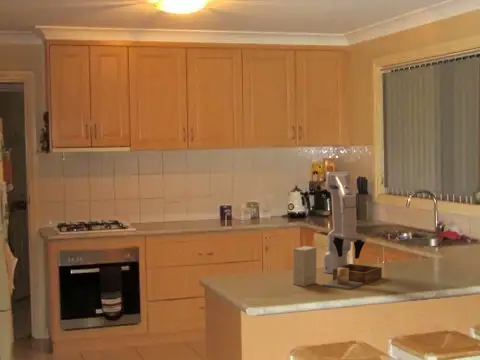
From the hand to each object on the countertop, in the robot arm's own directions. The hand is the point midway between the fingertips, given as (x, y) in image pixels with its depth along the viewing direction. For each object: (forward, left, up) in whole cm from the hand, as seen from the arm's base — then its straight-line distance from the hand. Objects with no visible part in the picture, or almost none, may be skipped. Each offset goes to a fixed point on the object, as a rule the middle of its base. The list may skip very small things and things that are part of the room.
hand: (348, 257), depth 299 cm
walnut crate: (0, +8, -10) cm, 13 cm away
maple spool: (+1, -7, -9) cm, 12 cm away
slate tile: (+1, -7, -10) cm, 12 cm away
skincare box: (-13, -13, -11) cm, 21 cm away
